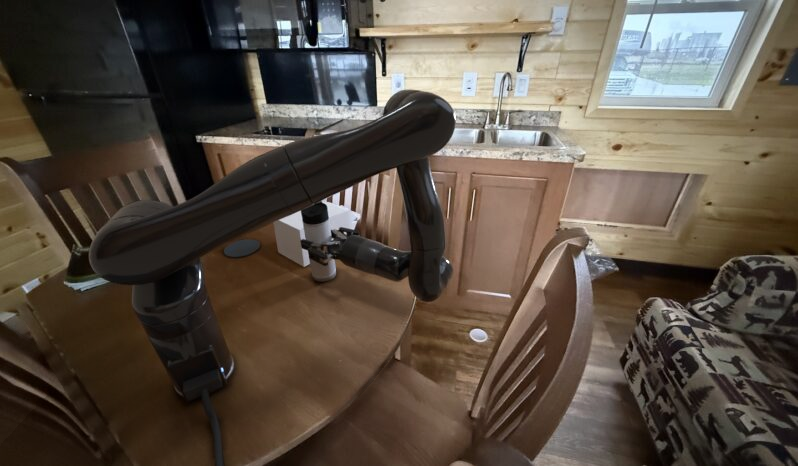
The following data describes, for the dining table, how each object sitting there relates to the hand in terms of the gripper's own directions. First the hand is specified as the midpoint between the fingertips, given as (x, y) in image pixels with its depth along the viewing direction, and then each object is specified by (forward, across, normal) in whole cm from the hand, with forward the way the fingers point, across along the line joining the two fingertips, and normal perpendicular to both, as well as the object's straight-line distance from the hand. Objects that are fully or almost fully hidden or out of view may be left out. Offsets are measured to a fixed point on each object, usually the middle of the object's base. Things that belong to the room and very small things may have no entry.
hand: (311, 236), depth 79 cm
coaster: (+28, +2, +11) cm, 30 cm away
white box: (+11, -1, +5) cm, 12 cm away
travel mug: (-3, 0, +11) cm, 11 cm away
